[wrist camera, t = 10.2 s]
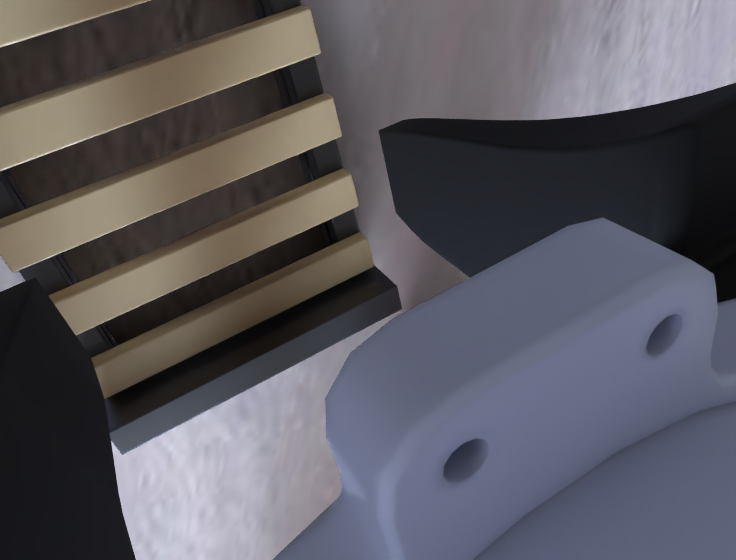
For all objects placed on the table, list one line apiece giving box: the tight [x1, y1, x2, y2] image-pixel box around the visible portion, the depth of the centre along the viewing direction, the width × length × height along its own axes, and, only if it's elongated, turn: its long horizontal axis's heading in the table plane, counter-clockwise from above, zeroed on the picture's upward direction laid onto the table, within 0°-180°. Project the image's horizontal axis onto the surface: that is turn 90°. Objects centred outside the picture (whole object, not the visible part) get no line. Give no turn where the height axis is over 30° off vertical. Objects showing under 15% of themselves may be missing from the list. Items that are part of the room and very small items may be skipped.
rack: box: [0, 0, 402, 455], centre depth 16 cm, size 11×24×4 cm, turn 13°
